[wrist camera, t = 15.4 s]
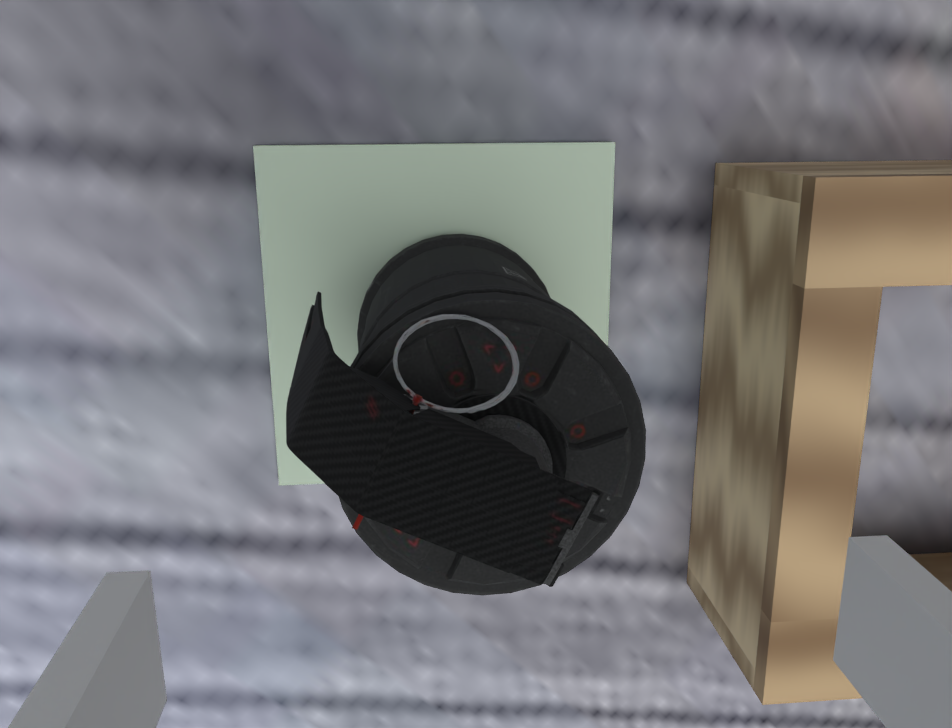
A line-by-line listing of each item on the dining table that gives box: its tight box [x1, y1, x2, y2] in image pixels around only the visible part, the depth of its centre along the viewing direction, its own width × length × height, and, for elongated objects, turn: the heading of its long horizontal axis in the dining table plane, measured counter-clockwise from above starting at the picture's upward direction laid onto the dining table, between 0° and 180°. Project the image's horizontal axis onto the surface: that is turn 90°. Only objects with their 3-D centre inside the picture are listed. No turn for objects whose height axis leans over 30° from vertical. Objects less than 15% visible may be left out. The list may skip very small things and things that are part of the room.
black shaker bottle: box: [286, 234, 646, 595], centre depth 30 cm, size 9×11×20 cm
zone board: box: [253, 142, 615, 486], centre depth 40 cm, size 16×16×1 cm
